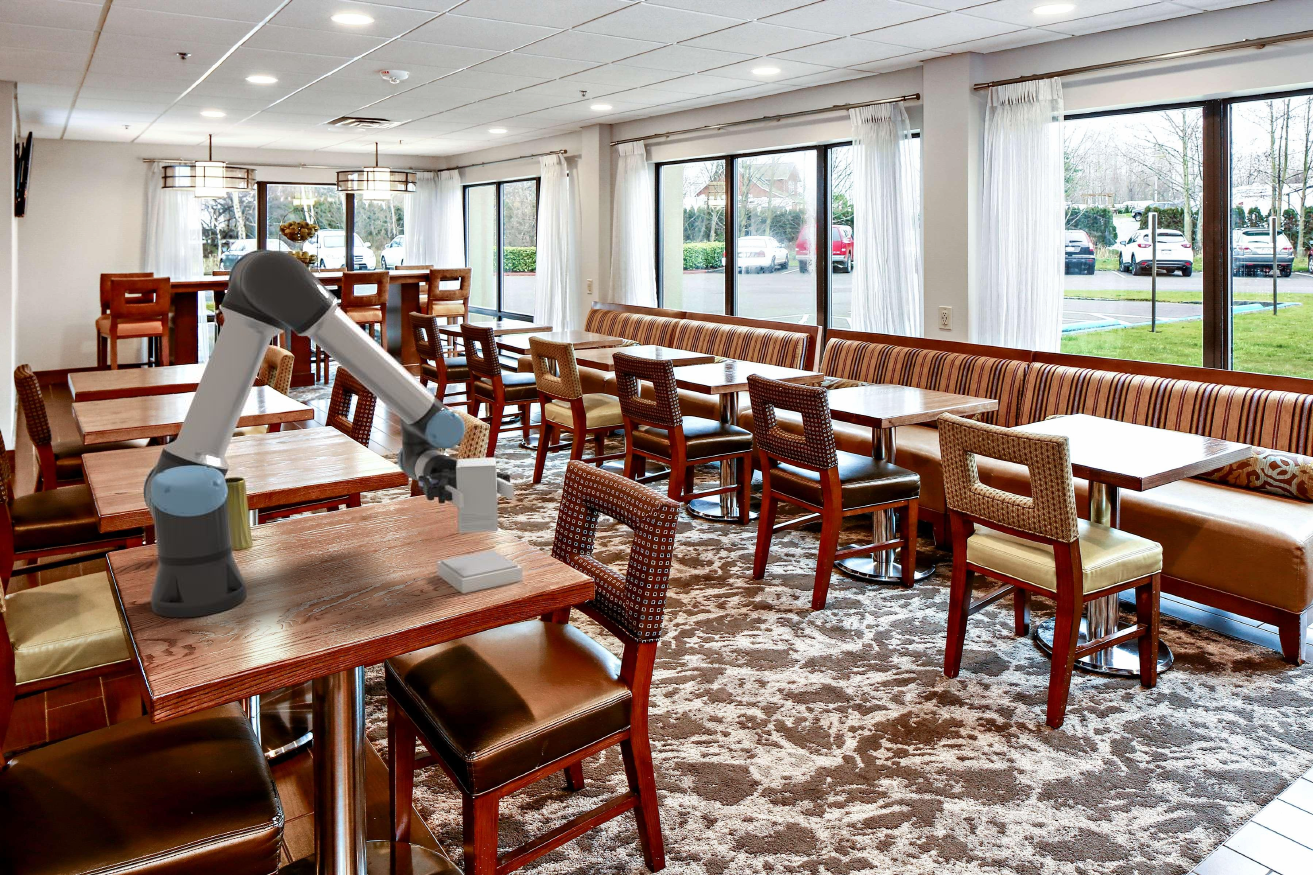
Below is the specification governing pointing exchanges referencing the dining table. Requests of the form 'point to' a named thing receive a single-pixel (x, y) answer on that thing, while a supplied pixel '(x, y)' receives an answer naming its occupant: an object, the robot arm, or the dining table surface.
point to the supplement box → (477, 495)
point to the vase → (238, 513)
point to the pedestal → (479, 571)
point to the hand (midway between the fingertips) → (487, 496)
